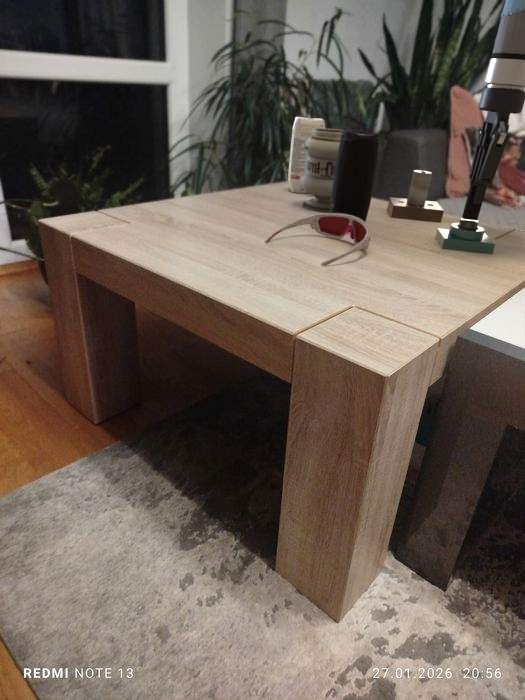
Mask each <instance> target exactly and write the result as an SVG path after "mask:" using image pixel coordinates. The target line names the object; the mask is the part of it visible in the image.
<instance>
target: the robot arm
mask: <svg viewBox="0 0 525 700" xmlns="http://www.w3.org/2000/svg"><path fill="white" fill-rule="evenodd" d="M497 29H498V30H497V33H496V37H495V42H494V45H493V49H492V54H491V56H490V58H489V63H488V66H487V70H486V74H485V78H484V85H486V87H484V88H483V89H482V91H481V94H480V98H479V103H478V109H479V111H483V112H484V111H485V112H487V114H486V116H485V119H484V121H482V123H481V126H479V127H478V128H477V135H476V143H475V148H474V153H473V157H472V162H471V168H470V172H469V175H468V178H469V179H470V182H469V189H468V193H467V197H466V200H465V205H464V208H463V212H462V216H461V218H463V219H468V220H478V219H479V216H480V212H481V208H482V205H483V201H484V198H485V195H486V192H487V188H488V187H489V186H491V185H493V183H494V179H495V176H496V174H497V171H498V169H499V166H500V162H501V160H502V158H503V154H504V151H505V149H506V147H507V144H508V143H509V141H510V139H511V132H509V130H510V124H509V122H510V115H511V114H513V115H514V114H515V115H519V114H521V113H522V112H523V110H524V109H523V108H524V106H525V0H505V3H504V6H503V9H502V12H501V14H500V20H499V25H498V28H497ZM478 221H479V220H478Z"/></svg>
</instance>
